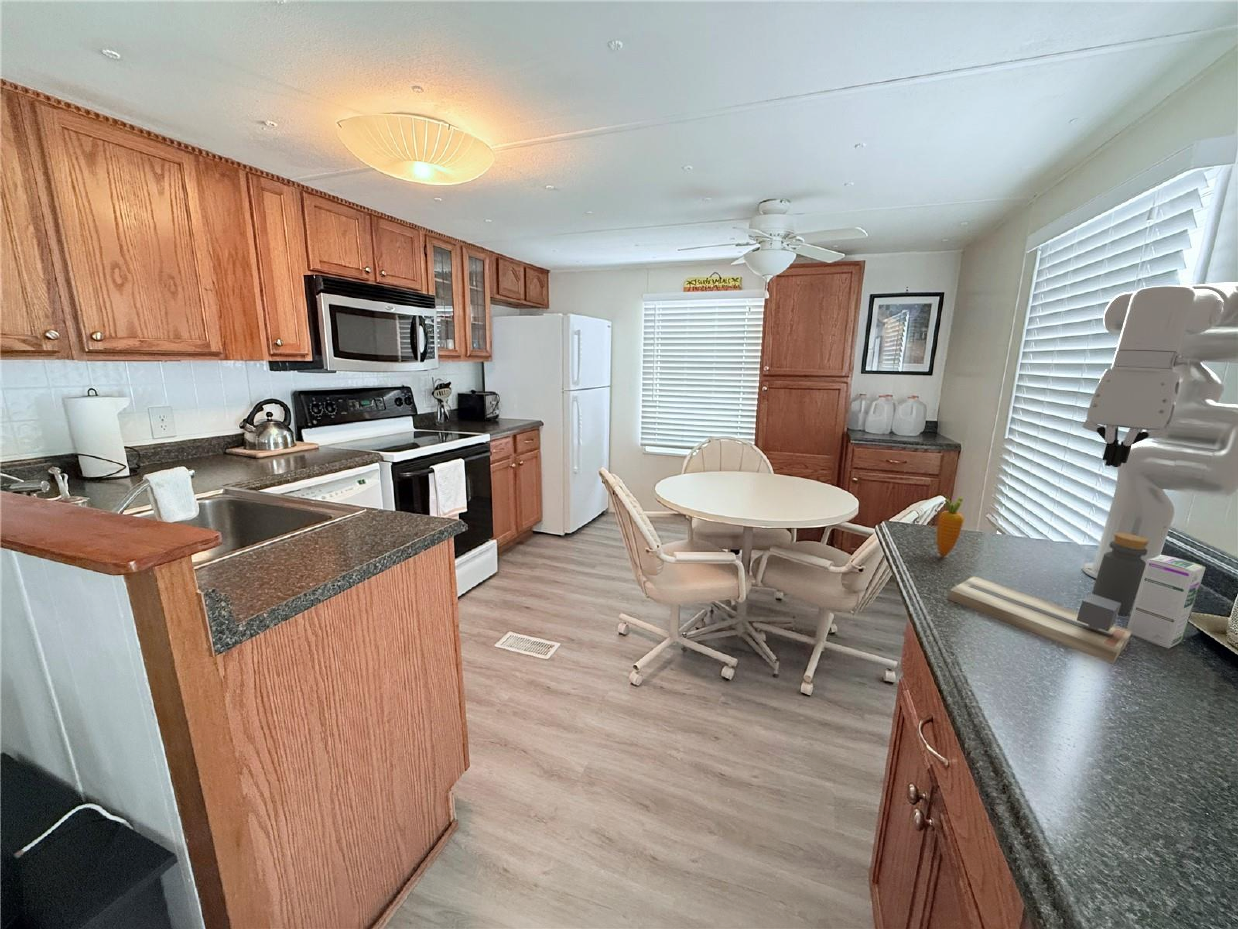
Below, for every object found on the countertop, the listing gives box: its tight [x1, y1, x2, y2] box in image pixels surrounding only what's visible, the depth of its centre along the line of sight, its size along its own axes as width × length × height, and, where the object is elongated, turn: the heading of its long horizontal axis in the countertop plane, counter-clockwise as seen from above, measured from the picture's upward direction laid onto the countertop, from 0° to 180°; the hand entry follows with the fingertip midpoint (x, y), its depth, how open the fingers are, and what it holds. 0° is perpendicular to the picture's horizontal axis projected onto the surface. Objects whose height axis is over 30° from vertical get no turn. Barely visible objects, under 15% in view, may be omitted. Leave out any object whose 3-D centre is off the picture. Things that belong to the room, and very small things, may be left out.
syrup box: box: [1126, 554, 1206, 649], centre depth 86 cm, size 6×6×14 cm
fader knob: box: [1077, 592, 1121, 631], centre depth 84 cm, size 5×4×5 cm
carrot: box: [936, 497, 965, 558], centre depth 117 cm, size 5×5×15 cm
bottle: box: [1091, 533, 1149, 616], centre depth 96 cm, size 6×6×15 cm
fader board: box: [947, 575, 1132, 665], centre depth 91 cm, size 12×24×2 cm, turn 35°
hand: (1112, 465), depth 89 cm, fingers closed
